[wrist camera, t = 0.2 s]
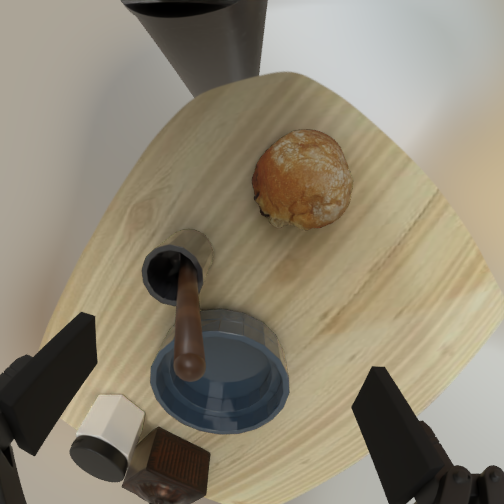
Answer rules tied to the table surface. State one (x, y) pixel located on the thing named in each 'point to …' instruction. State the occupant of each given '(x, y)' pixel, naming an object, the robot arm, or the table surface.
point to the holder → (176, 264)
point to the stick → (188, 325)
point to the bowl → (225, 376)
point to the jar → (108, 437)
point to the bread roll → (303, 181)
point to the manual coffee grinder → (167, 470)
